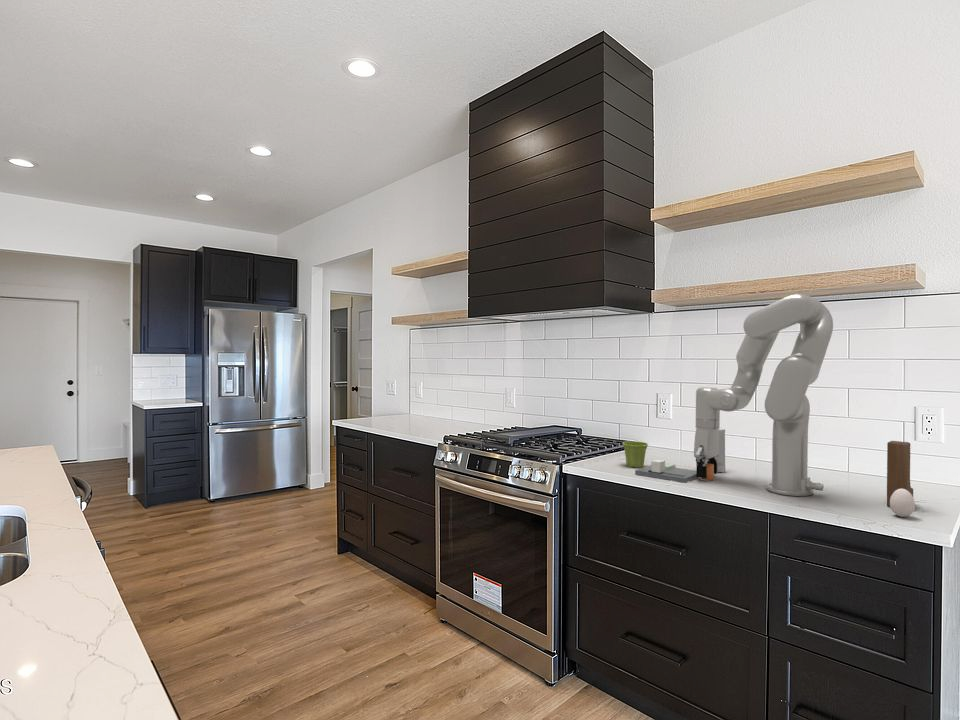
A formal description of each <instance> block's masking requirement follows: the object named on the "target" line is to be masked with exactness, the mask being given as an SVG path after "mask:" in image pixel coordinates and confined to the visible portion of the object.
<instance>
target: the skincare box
mask: <svg viewBox="0 0 960 720" xmlns="http://www.w3.org/2000/svg"><path fill="white" fill-rule="evenodd" d="M718 441H719V449H718V456H717V459H718V461H717V472H722V474H723V473H726V429H725V428H722V427H720V429H718ZM702 457H704V456H702ZM702 460H703V459H702ZM703 461H704V460H703ZM707 461H708V459H707ZM706 463H707V462H706Z"/></svg>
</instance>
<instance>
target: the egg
mask: <svg viewBox="0 0 960 720" xmlns="http://www.w3.org/2000/svg"><path fill="white" fill-rule="evenodd" d="M889 508H890V509H891V511H892V512H893V513H894V514H895V516H897V517H901V518H906V517H910V516H911V515H912V514H913V513H914V512H915V508H916V502H915V499H914V495H913V496H912V495H911V493H910V492H908V491H907V490H905V489H898V490H896V491H894V493H893V494H892V496H891V498H890V507H889Z"/></svg>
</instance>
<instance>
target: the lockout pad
mask: <svg viewBox="0 0 960 720" xmlns="http://www.w3.org/2000/svg"><path fill="white" fill-rule="evenodd" d="M672 468H676V464H674V463H673V464H672V463H667V462H665V470H669V469H672Z"/></svg>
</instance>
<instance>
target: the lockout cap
mask: <svg viewBox="0 0 960 720" xmlns="http://www.w3.org/2000/svg"><path fill="white" fill-rule="evenodd" d="M706 466H707V478H700V479H701V480H702V481H709V480H711V481H714V480H715V474H714V465H713V464H709V463H706Z"/></svg>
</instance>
